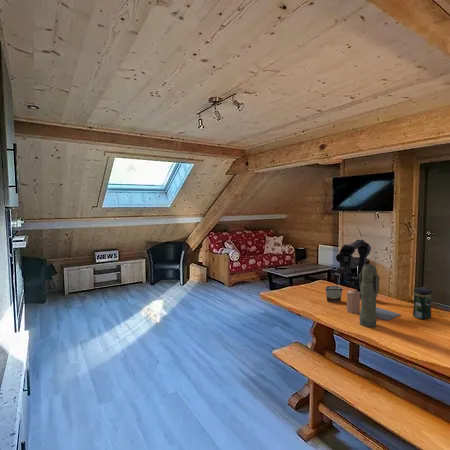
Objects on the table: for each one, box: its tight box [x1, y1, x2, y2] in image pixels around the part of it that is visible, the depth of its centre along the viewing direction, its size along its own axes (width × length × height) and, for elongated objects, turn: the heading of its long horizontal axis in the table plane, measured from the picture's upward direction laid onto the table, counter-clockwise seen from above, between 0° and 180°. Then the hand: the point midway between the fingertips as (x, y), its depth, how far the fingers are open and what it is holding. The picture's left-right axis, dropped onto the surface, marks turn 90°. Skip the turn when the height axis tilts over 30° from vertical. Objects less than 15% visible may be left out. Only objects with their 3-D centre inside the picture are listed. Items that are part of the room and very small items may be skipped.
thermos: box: [359, 263, 380, 328], centre depth 173 cm, size 9×12×35 cm
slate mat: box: [376, 306, 401, 322], centre depth 190 cm, size 16×16×1 cm
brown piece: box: [346, 289, 361, 314], centre depth 194 cm, size 7×7×13 cm
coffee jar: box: [412, 286, 433, 320], centre depth 184 cm, size 10×8×19 cm
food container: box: [324, 285, 344, 303], centre depth 216 cm, size 12×6×10 cm, turn 84°
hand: (343, 286), depth 204 cm, fingers open, 9 cm apart
